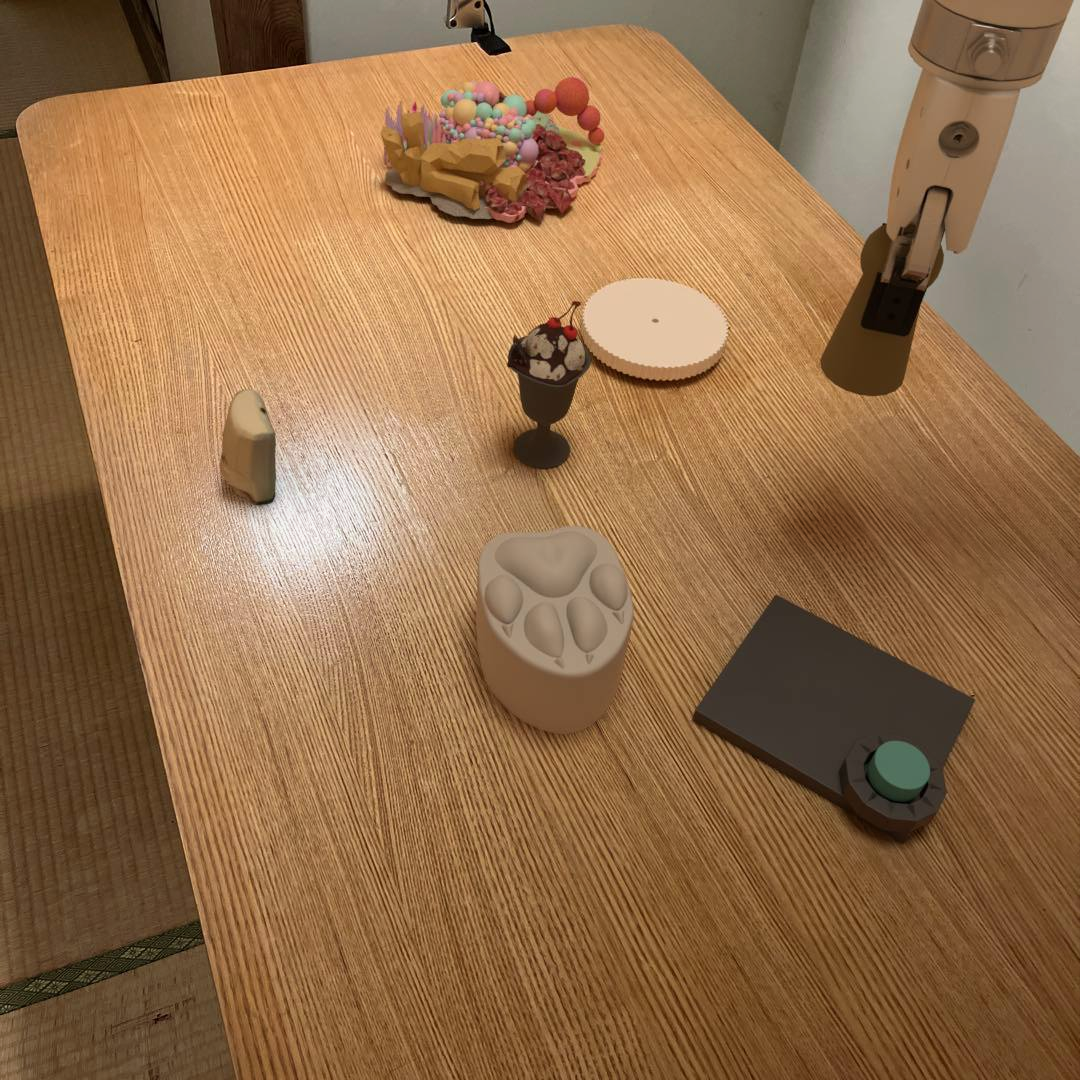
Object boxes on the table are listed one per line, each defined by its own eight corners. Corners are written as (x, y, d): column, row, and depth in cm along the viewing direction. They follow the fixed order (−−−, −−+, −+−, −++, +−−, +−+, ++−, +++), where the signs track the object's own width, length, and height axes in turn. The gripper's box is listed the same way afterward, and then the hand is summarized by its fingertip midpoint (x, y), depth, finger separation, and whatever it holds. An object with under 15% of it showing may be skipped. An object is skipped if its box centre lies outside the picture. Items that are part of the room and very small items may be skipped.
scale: (978, 714, 78) (994, 691, 76) (909, 860, 70) (925, 839, 68) (771, 605, 84) (780, 580, 81) (686, 728, 76) (693, 704, 73)
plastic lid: (750, 340, 106) (755, 319, 104) (669, 409, 98) (673, 388, 96) (635, 281, 111) (638, 260, 109) (550, 342, 103) (552, 321, 102)
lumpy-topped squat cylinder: (599, 582, 84) (611, 506, 78) (641, 723, 76) (659, 651, 69) (467, 597, 82) (468, 520, 76) (496, 744, 74) (500, 672, 67)
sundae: (593, 441, 95) (612, 300, 83) (555, 486, 91) (570, 344, 79) (529, 412, 97) (539, 271, 85) (489, 455, 93) (494, 313, 81)
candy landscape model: (555, 248, 114) (561, 167, 107) (350, 199, 118) (344, 119, 111) (616, 140, 130) (625, 64, 123) (435, 100, 134) (434, 25, 127)
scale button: (929, 772, 72) (938, 759, 70) (910, 812, 69) (918, 799, 68) (879, 744, 73) (887, 730, 71) (858, 782, 71) (866, 769, 69)
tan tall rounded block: (307, 481, 89) (297, 409, 83) (263, 518, 86) (249, 446, 80) (255, 452, 91) (241, 379, 85) (211, 488, 88) (193, 415, 82)
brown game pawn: (816, 385, 76) (860, 251, 68) (823, 335, 80) (865, 202, 72) (902, 404, 75) (957, 270, 67) (905, 352, 79) (957, 219, 71)
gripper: (1061, 116, 54) (939, 394, 67) (1047, -13, 65) (944, 248, 78) (909, 89, 55) (819, 368, 68) (921, -34, 66) (841, 227, 79)
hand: (887, 301), depth 73 cm, fingers closed on brown game pawn, 5 cm apart
